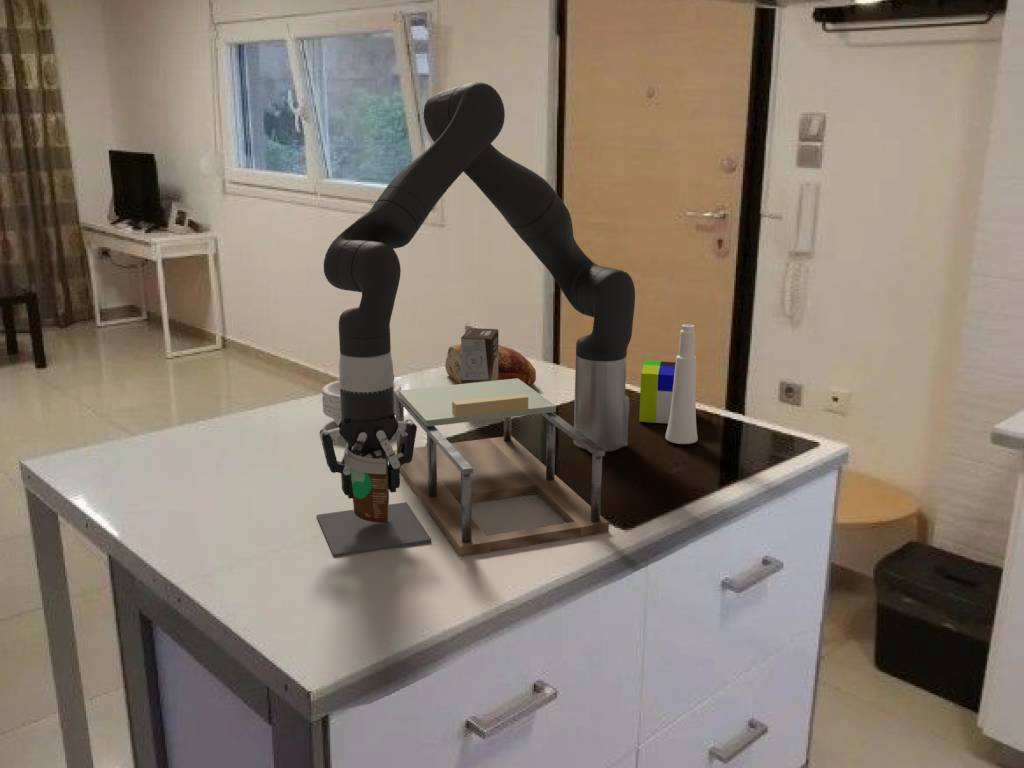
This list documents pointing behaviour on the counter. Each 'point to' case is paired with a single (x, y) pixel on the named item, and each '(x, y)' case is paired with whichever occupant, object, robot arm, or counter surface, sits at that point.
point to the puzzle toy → (656, 391)
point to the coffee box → (479, 356)
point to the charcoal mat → (372, 531)
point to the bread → (508, 365)
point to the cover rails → (467, 469)
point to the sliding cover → (475, 402)
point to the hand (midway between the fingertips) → (371, 493)
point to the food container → (369, 484)
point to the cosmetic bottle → (684, 392)
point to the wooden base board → (497, 494)
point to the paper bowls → (333, 400)
